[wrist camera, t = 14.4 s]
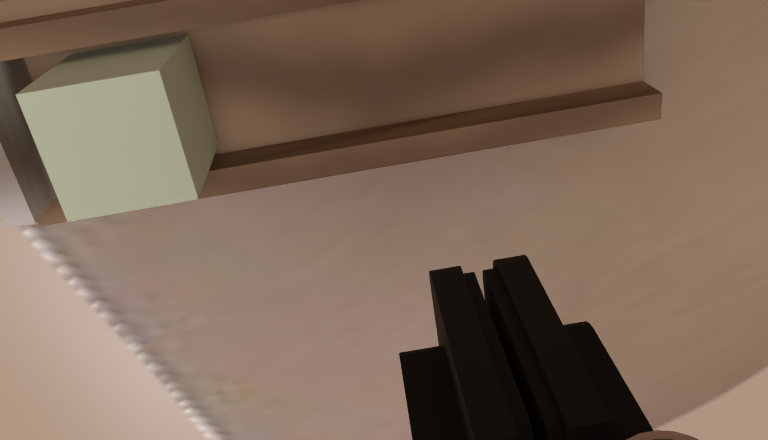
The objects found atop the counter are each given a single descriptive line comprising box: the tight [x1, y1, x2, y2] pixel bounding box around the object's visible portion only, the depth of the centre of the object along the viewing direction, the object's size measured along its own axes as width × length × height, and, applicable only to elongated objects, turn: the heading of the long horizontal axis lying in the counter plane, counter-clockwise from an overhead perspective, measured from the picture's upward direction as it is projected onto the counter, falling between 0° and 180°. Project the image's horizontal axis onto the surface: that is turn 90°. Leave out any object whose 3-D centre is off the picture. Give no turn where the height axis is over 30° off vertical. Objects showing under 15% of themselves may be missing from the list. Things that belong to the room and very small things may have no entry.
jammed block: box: [16, 35, 218, 222], centre depth 27 cm, size 5×5×6 cm
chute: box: [0, 0, 662, 228], centre depth 29 cm, size 10×28×6 cm, turn 99°
